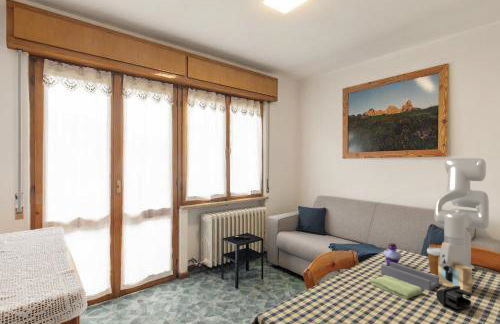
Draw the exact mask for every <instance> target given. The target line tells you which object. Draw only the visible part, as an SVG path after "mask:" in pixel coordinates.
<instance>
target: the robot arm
mask: <svg viewBox="0 0 500 324" xmlns="http://www.w3.org/2000/svg"><path fill="white" fill-rule="evenodd" d="M444 168H445V172H446V173H447V187H446V191H445V192H444V193H443V194H441V195H440V196H439V197H438V198H437V200H436V201H435V206H434V215H433V216H434V217H433V218H434V222H435V223H436V224H437V225H440V226H443V227H444V230H443V231H444V232H443V233H444V236H443V237H444V238H443V241H442V243H441V246H440V248H441V251H440V262H439V266H441V267H442V268H443V269H444V270H445V271H446V272H445V277H446V280H448V281H450V282H452V273H451V270H452V266H454V264H463V265H465V266H467V267H470V268H472V269H474V270H475V266H474V265H473V264H471V260H472V258H471V257H472V253H471V252H472V250H471V249H472V245H471V243H472V236H471V234H470V232H469V231H468V230H467V228H468V229H469V228H470V229H476V230H486V229H488V227H489V223H490V219H489V218H490V214H489V213H490V210H489V205H490V201H489V196H488V194H487V192H485V191H482V190H474V189H471V182H483V181H485V179H486V174H487V173H486V172H487V164H486V161H485V159H483V158H480V157H479V158H477V157H476V158H475V157H473V158H472V157H471V158H470V157H469V158H467V157H466V158H465V157H463V158H460V157H459V158H458V157H456V158H448V159H446V160H445V162H444ZM450 201H451V204H452V205H453V206H456V207H460V208H452V209H449V210H447V209H443V206H444V205H445V204H446V203H448V202H450ZM461 207H462V209H461ZM463 208H470V209H463ZM472 209H476V210H472ZM444 263H445V265H444ZM448 267H449V268H448Z"/></svg>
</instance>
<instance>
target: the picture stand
mask: <svg viewBox="0 0 500 324" xmlns="http://www.w3.org/2000/svg"><path fill="white" fill-rule="evenodd" d="M380 274H382V275H385V276H390V277H393V278H396V279H398V280H401V281H404V282H407V283H409V284H411V285H415V286H418V287H420V288H421V289H424V290H426V291H428V292H429V291H431V290H433V289H435V288H437V287H439V286H440V281H439V277H438V275H435V274H433V273H428V272H425V271H421V270H419V269H415V268H412V267H409V266H406V265H403V264H400V263H398V264H397V263H394V262H390V266H388V265H387V264H381V266H380Z"/></svg>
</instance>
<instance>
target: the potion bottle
mask: <svg viewBox="0 0 500 324" xmlns="http://www.w3.org/2000/svg"><path fill="white" fill-rule="evenodd" d="M387 248H388V249H387V250H384V251H383V254H384V257H385V260H386V266H389V267H390V262H394V263H397V264H400V263H399V262H400V261H401V257H402V254H401V253H400V252H399V251H396V250H398V246H397V245H396V243H394V242H389V243H388V245H387Z"/></svg>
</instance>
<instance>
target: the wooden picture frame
mask: <svg viewBox="0 0 500 324" xmlns="http://www.w3.org/2000/svg"><path fill="white" fill-rule="evenodd" d="M439 262H440V257H438V275H437V276H438V277H439V282H441V283H442V284H445V285H446V286H448V287H453V286H460V289H462V290H464V291H467V292H469V293H471V295H472V294H473V293H472V291H473V290H472V289H473V285H472V284H473V283H472V282H473V270H472V268H470V267H467V266H465V265H463V264H454V266H452V270H451V273H452V282H450V281H448V280H446V277H445V272H446V271H445V270H444V269H443V268H442V267H441V266H439ZM444 265H445V263H444ZM448 268H449V267H448Z"/></svg>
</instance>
